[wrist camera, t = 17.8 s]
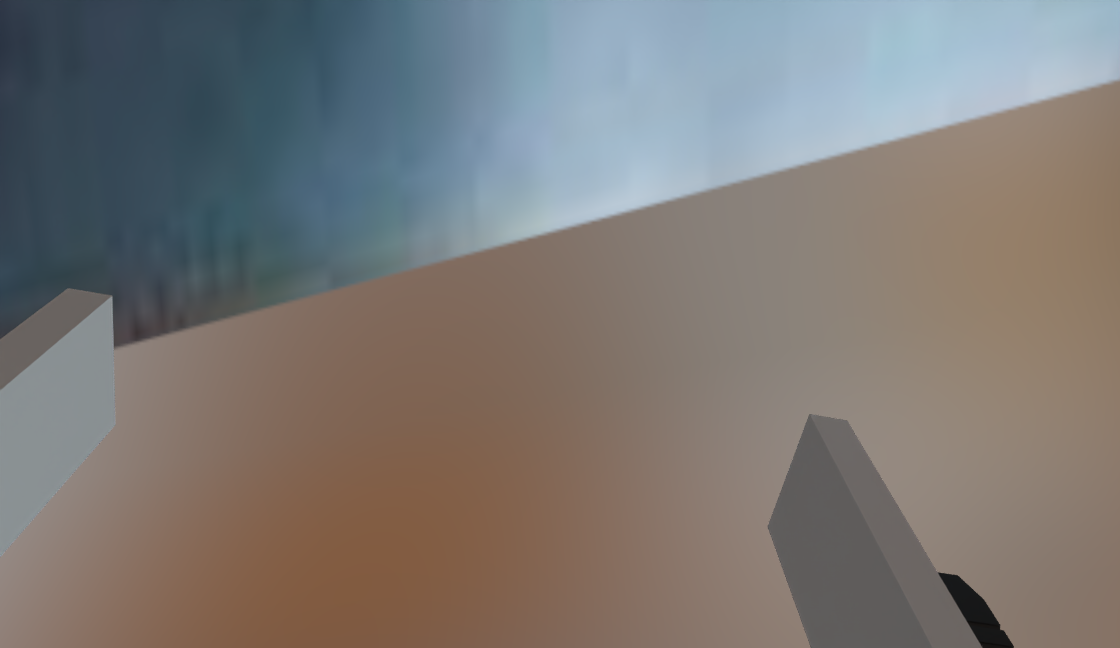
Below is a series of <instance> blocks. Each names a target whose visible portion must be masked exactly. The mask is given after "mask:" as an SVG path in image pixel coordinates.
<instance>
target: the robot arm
mask: <svg viewBox="0 0 1120 648" xmlns="http://www.w3.org/2000/svg"><path fill="white" fill-rule="evenodd" d="M114 391H115V389H114V350H113V311H112V296H110V295H105V294H99V293H93V292H87V291H81V290H75V289H69V288H68V289H67V290H65V291H64V292H63V293H61V294H60V295H59V296H57V297H56V298H55V299H53V300H52V301H51V302H49V303H48V304H47V305H45V306H44V307H43V308H41V309H40V310H39V311H37V312H36V313H35V314H33V315H32V316H31V317H29V318H28V319H27V320H25V321H24V322H23V323H21V324H20V325H19V326H17V327H16V328H15V329H13V330H12V331H11V332H10V333H8V334H7V335H6V336H4V337H3V338H2V339H0V557H1V556H2V554H3V553H4V552H5V551H6V550H7V549H8V548H9V546H10V545H11V544H12V543H13V542H14V541H15V539H16V538H17V537H18V536H19V535H20V534H21V533H22V531H23V530H24V529H25V528H26V527H27V526H28V525H29V523H30V522H31V521H32V520H33V519H34V518H35V516H36V515H37V514H38V513H39V512H40V511H41V510H42V508H43V507H44V506H45V505H46V504H47V503H48V502H49V500H50V499H51V498H52V497H53V496H54V495H55V494H56V492H57V491H58V490H59V489H60V488H61V487H62V485H63V484H64V483H65V482H66V481H67V480H68V479H69V477H70V476H71V475H72V474H73V473H74V472H75V471H76V469H77V468H78V467H79V466H80V465H81V464H82V462H83V461H84V460H85V459H86V458H87V457H88V456H89V455H90V453H91V452H92V451H93V450H94V449H95V448H96V447H97V445H98V444H99V443H100V442H101V441H102V440H103V438H104V437H105V436H106V435H107V434H108V433H109V431H110V430H111V429H112V428H113V427H114V426H115V392H114ZM768 529H769V532H770V535H771V537H772V540H773V543H774V546H775V549H776V551H777V554H778V557H779V560H780V563H781V565H782V568H783V571H784V574H785V577H786V579H787V582H788V585H789V588H790V591H791V593H792V596H793V599H794V602H795V604H796V607H797V610H798V613H799V616H800V618H801V621H802V624H803V627H804V630H805V633H806V635H807V638H808V641H809V644H810V647H811V648H1014V646H1013V644H1012V643H1011V641H1010V640H1009V638H1008V636H1007V635H1006V633H1005V632H1004V631H1003V630H1000V624H999V622H998V621H997V619H996V618H995V617H994V615H993V613H992V611H991V610H990V608H989V607H988V605H987V604H986V602H985V601H984V599H983V598H982V597H980V596H979V595H978V594H977V593H976V592H975V591H974V590H973V589H972V588H971V587H970V586H969V585H967V584H966V583H965V582H964V581H963V580H962V579H961V578H960V577H959V576H958V575H951V574H945V573H938V572H937V571H936V569H935V567H934V566H933V564H932V562H931V561H930V559H929V557H928V556H927V554H926V552H925V551H924V549H923V547H922V545H921V544H920V542H919V540H918V539H917V537H916V535H915V534H914V532H913V530H912V529H911V527H910V525H909V524H908V522H907V520H906V519H905V517H904V515H903V514H902V512H901V510H900V509H899V507H898V505H897V504H896V502H895V500H894V498H893V497H892V495H891V493H890V492H889V490H888V488H887V487H886V485H885V483H884V482H883V480H882V478H881V477H880V475H879V473H878V472H877V470H876V468H875V467H874V465H873V463H872V461H871V460H870V458H869V456H868V455H867V453H866V451H865V450H864V448H863V446H862V445H861V443H860V441H859V440H858V438H857V436H856V435H855V433H854V431H853V430H852V428H851V426H850V425H849V423H848V421H847V420H841V419H835V418H830V417H823V416H818V415H812V414H810V415H809V417H808V419H807V422H806V425H805V428H804V430H803V433H802V436H801V438H800V441H799V444H798V446H797V449H796V452H795V455H794V457H793V460H792V463H791V465H790V468H789V471H788V473H787V476H786V479H785V482H784V484H783V487H782V490H781V493H780V495H779V498H778V500H777V503H776V506H775V508H774V511H773V514H772V516H771V519H770V522H769V525H768Z"/></svg>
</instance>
